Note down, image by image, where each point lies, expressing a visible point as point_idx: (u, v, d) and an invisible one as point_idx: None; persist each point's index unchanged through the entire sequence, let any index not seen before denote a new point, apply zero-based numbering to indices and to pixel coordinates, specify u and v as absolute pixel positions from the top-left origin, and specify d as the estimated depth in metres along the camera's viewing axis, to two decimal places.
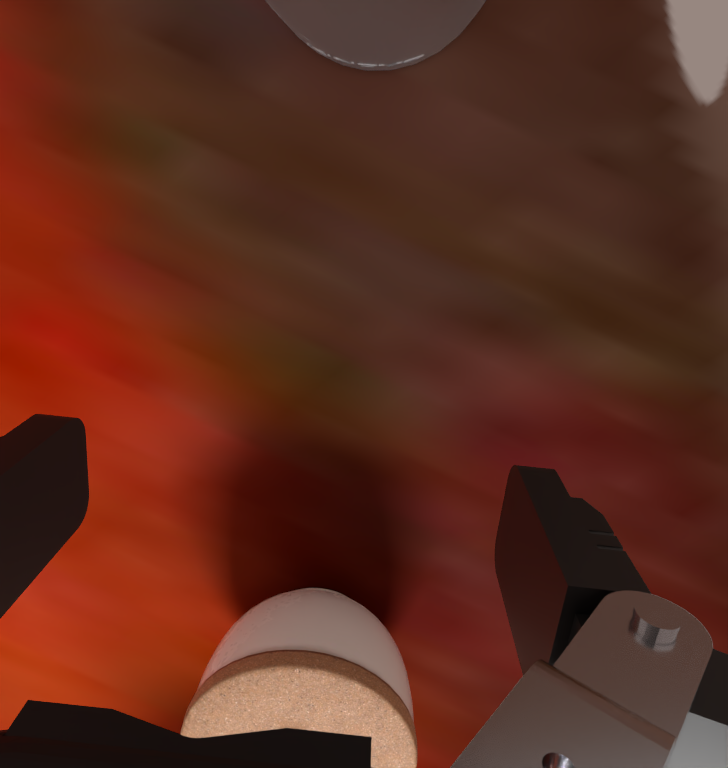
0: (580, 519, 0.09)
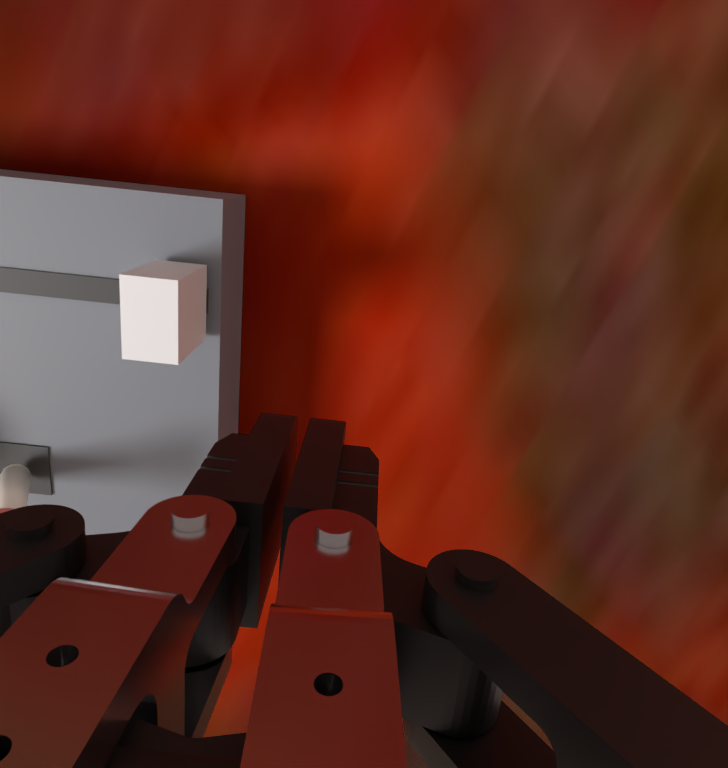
0: (337, 458, 0.10)
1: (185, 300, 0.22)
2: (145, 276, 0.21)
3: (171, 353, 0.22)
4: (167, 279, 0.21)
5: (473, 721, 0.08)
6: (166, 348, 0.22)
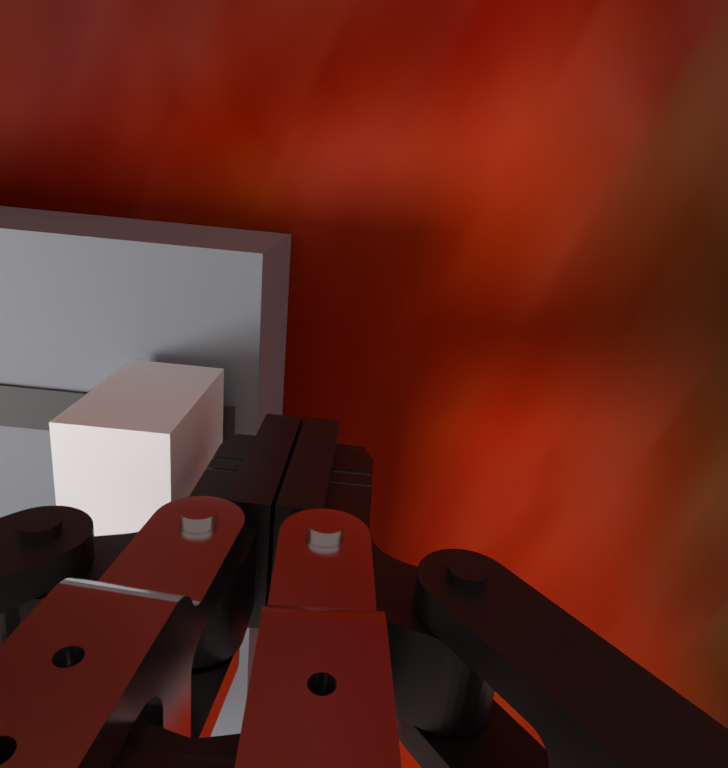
0: (330, 458, 0.10)
1: (185, 457, 0.11)
2: (103, 424, 0.10)
3: None
4: (148, 431, 0.10)
5: (465, 720, 0.08)
6: None
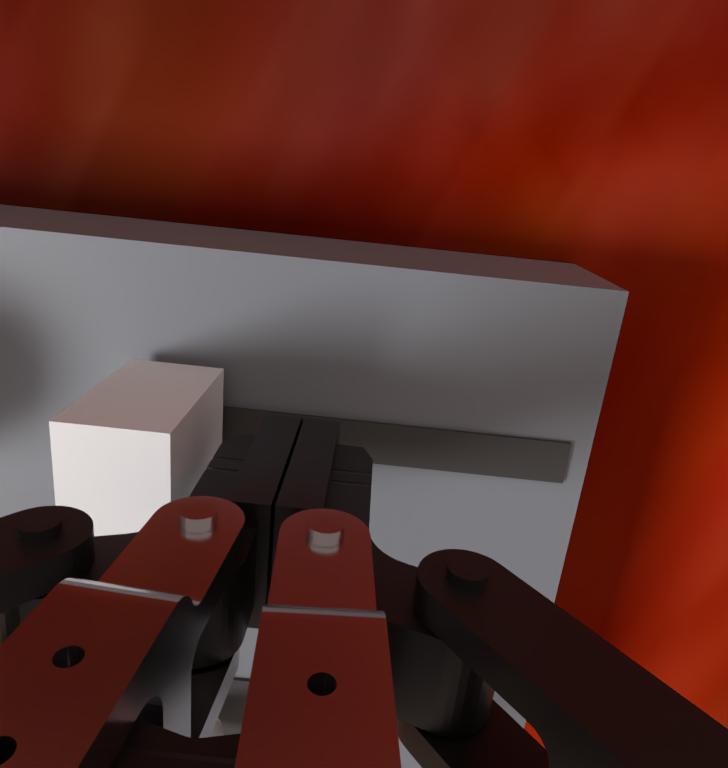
0: (330, 458, 0.10)
1: (185, 457, 0.11)
2: (103, 423, 0.10)
3: None
4: (148, 430, 0.10)
5: (465, 720, 0.08)
6: None
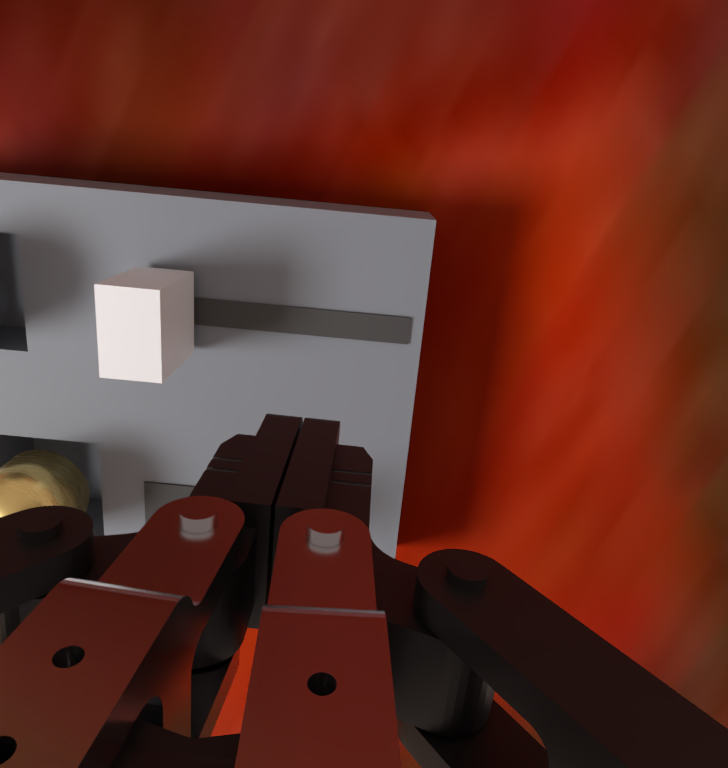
0: (330, 458, 0.10)
1: (169, 311, 0.20)
2: (123, 285, 0.19)
3: (154, 371, 0.20)
4: (148, 289, 0.19)
5: (465, 720, 0.08)
6: (148, 365, 0.20)
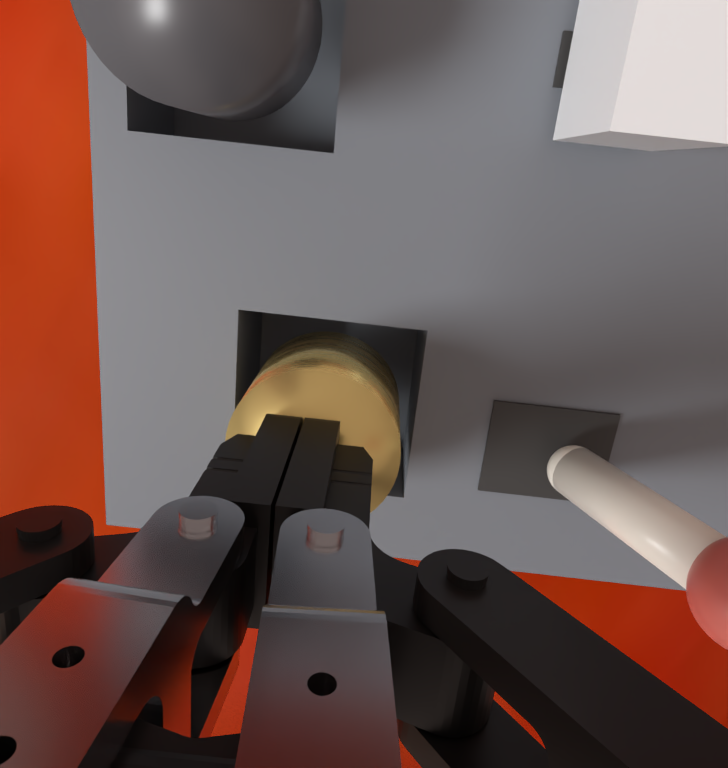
0: (330, 458, 0.10)
1: None
2: None
3: None
4: None
5: (465, 720, 0.08)
6: (726, 101, 0.09)
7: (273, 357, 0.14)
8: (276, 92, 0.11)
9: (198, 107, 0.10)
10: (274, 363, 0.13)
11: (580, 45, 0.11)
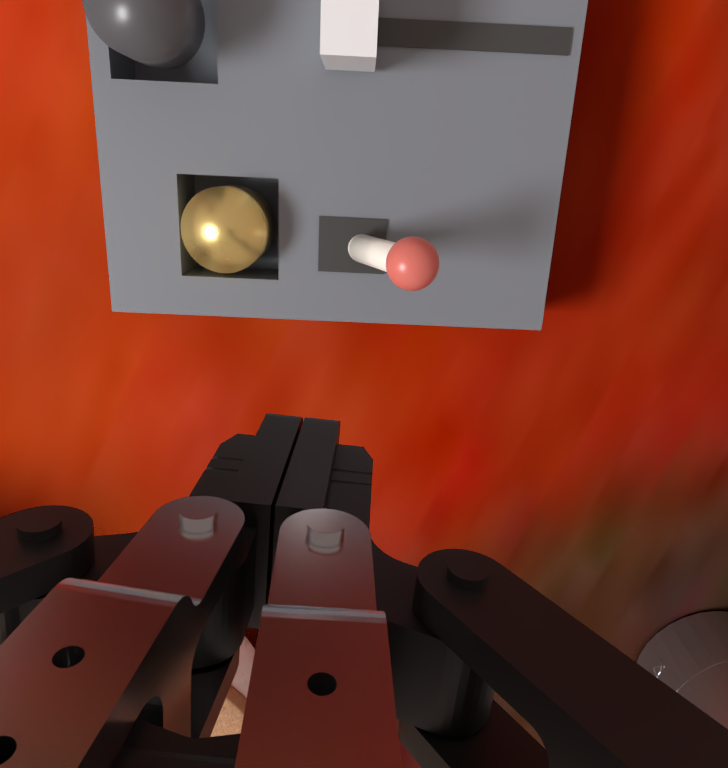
0: (330, 458, 0.10)
1: None
2: None
3: (370, 44, 0.22)
4: None
5: (465, 720, 0.08)
6: (365, 38, 0.22)
7: None
8: (182, 50, 0.24)
9: (144, 56, 0.22)
10: None
11: None
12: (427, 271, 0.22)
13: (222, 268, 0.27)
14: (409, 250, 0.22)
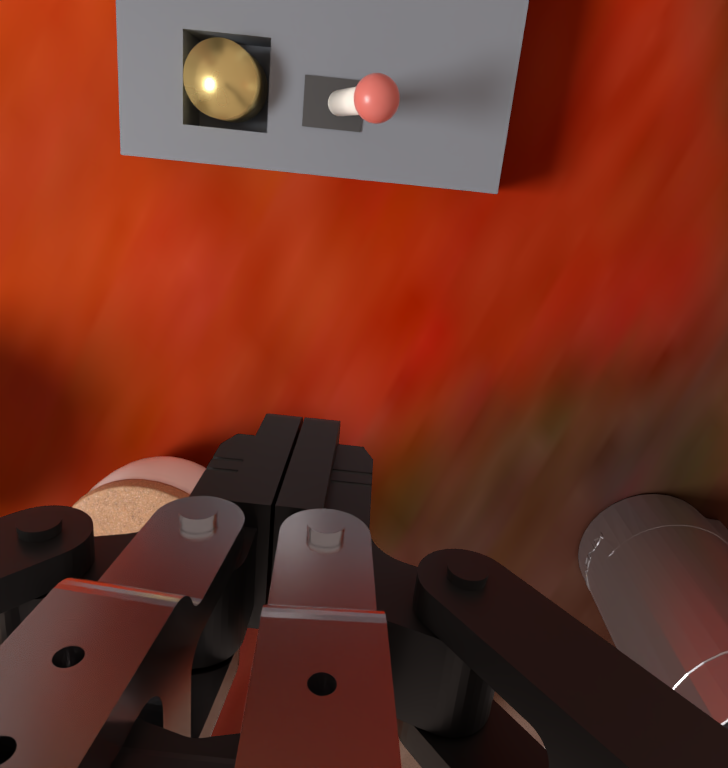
0: (330, 458, 0.10)
1: None
2: None
3: None
4: None
5: (465, 720, 0.08)
6: None
7: None
8: None
9: None
10: None
11: None
12: (387, 101, 0.26)
13: (217, 114, 0.31)
14: (372, 81, 0.26)
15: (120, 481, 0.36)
